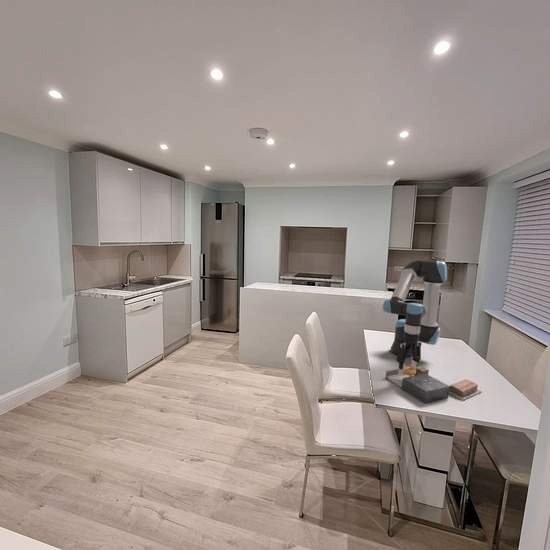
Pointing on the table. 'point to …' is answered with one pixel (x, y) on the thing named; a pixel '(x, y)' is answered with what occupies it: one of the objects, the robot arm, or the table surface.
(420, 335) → the robot arm
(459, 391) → the packaged product
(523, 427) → the table surface
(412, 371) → the orange dome cap
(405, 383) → the housing
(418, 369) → the block
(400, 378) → the tray
